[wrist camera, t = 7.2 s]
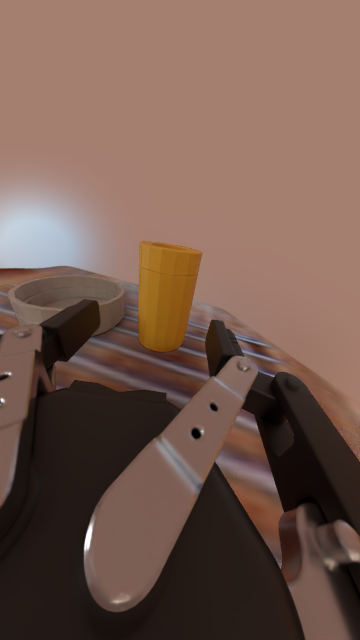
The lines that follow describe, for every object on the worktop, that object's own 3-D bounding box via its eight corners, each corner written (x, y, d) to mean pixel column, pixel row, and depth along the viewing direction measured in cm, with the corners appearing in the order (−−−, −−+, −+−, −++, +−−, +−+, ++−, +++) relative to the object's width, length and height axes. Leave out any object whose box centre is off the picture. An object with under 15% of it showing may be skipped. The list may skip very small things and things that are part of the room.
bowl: (-1, 349, 15) (-22, 312, 13) (40, 298, 24) (32, 272, 22) (129, 335, 20) (129, 307, 18) (121, 297, 29) (120, 276, 27)
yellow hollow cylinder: (143, 355, 17) (147, 247, 12) (135, 326, 22) (135, 239, 16) (191, 348, 19) (213, 255, 14) (174, 323, 24) (186, 246, 19)
